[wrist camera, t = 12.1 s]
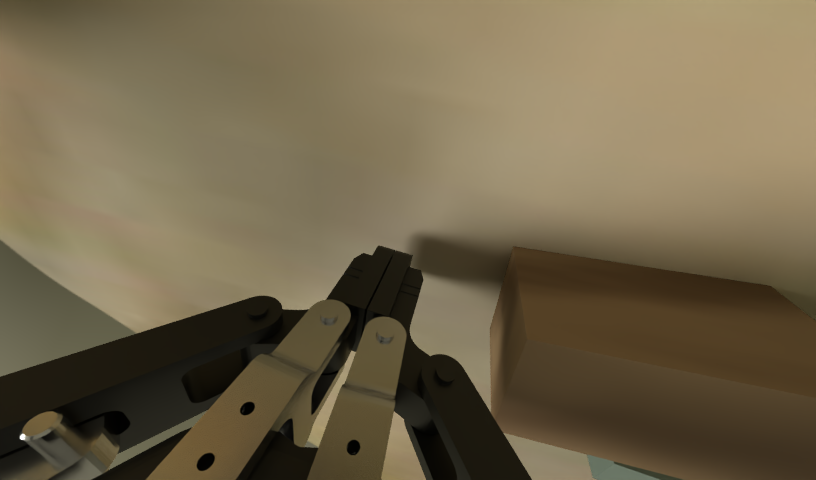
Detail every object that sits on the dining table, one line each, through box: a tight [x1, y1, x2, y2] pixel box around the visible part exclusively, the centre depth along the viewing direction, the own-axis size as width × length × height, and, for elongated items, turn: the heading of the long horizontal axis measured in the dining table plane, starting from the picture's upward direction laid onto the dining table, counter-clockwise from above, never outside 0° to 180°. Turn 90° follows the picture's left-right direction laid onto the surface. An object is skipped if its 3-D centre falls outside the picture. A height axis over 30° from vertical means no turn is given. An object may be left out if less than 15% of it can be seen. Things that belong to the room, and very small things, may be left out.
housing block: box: [490, 247, 816, 480], centre depth 11 cm, size 5×9×5 cm, turn 88°
